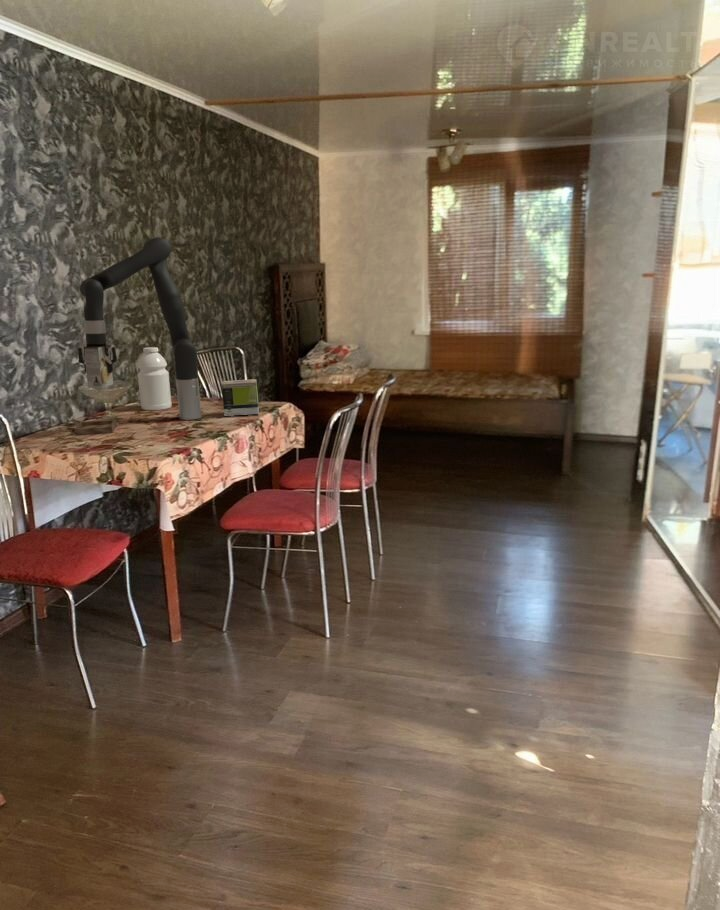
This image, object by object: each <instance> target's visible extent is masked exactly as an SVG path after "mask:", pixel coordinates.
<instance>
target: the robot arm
mask: <svg viewBox="0 0 720 910" xmlns="http://www.w3.org/2000/svg"><path fill="white" fill-rule="evenodd" d="M171 253H172V246H171V244H170V242H169V241H168V240H167V239H166V238H164V237H160V236H158V237H157V236H156V237H152V238H149V239H147V240H146V241H145V242H144V244H143V248H142V249H141V250H139V251H138V252H136V253H134V254H132V255H130V256H128V257H126V258H124V259H122V260H120V261H117V262H116V263H114V264H112V265H111V266H110V265H109V266H108V267H107V268H105V269H104V270H102V271H101V272H99V273H96V274H95V275H92V276H90V277H88V278H86V279H84V280H83V281H82V282H81V283H80V285H79V292H80V294H81V295H82V297H84V298H85V306H83V317H84V334H85V343H86V346H85V347H89V346H104V347H105V353H107V351H108V350H110V353H111V354H112V355H111V356H112V358H111V359H110V358H109V357H108V356H106V355H105V360H107V362H108V363H109V364H108V366H109V373H113V371H114V367H113V365H114V363H116V362H118V355H117V347H116V346H112V347H111V346H110V347H108V346H107V345H108V343H107V341H108V340H107V332H106V323H105V319H104V317H105V315H104V300H105V299H104V297H105V296H104V295H105V292H104V291H106V290H108V289H110V288H114V287H116V286H117V285H120V284H121V283H122V282H124V281H126V280H128V279H129V278H131V277H132V276H133V275H135V274H137V273H138V272H140V271H142V270H143V269H145V268H147V267H148V269H149V271H150V273H151V277H152V280H153V281H152V282H153V285H154V288H155V292H156V296H157V301H158V304H159V307H160V311H161V314H162V316H163V319H164V321H165V323H166V325H167V328H168V332H169V336H170V341H171V345H172V353H173V356H174V366H175V382H176V393H177V394H176V395H177V403H178V415H179V419H180V420H184V421H185V420H186V421H187V420H188V421H190V420H197V419H202V408H201V407H202V406H201V395H200V386H199V385H200V383H199V366H198V365H199V364H198V363H199V362H198V353H197V352H198V351H197V348H196V346H195V345H194V344H193V342H192V339H191V337H190V335H189V334H190V333H189V331H188V329H187V324H186V323H187V322H186V313H185V307H184V303H183V298H182V296H181V293H180V290H179V288H178V286H177V284H176V282H175V281H174V279H173V277H172V275H171V274H170V271H169V269H168V263H167V259H168V258H169V257H170V255H171ZM77 353H78V354H77V355H78V363H79V364H83V366H84V372H85V373H86V364H85V359H84V347H81V346H80V347H78V349H77Z"/></svg>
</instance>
